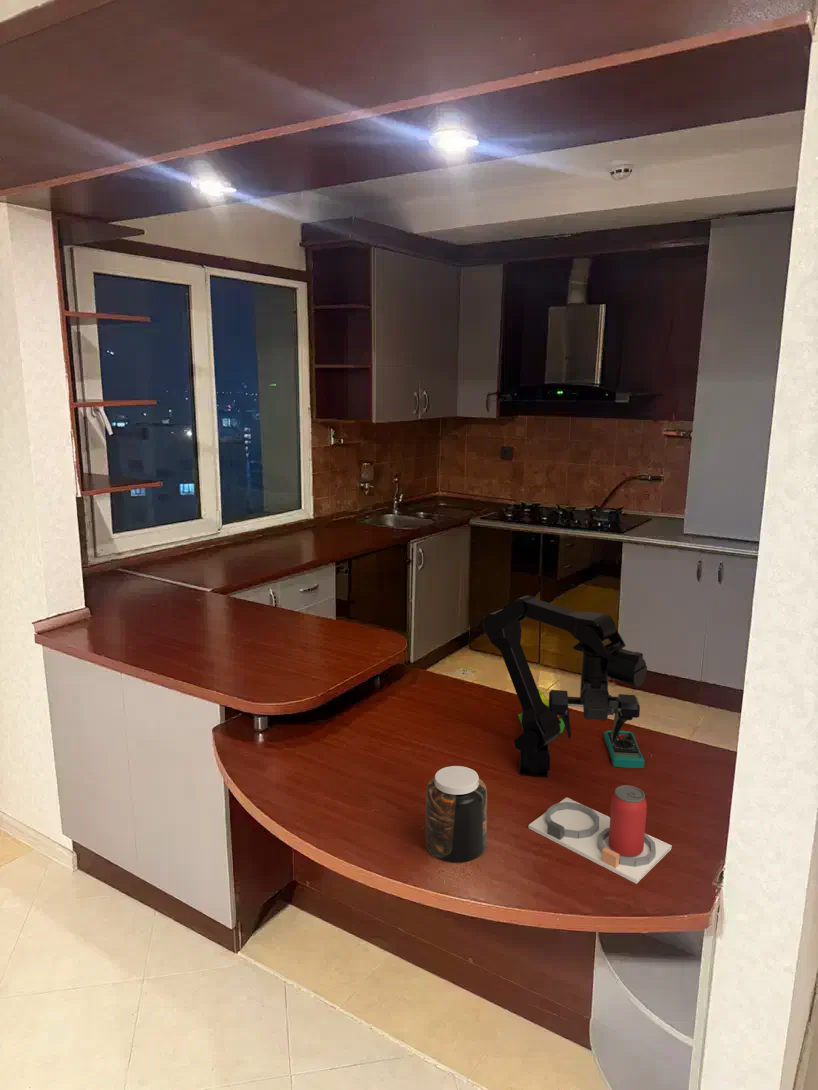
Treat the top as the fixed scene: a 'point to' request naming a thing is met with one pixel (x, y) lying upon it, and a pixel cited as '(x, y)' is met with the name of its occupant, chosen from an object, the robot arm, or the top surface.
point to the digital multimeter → (624, 750)
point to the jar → (456, 815)
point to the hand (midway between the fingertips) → (591, 739)
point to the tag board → (596, 839)
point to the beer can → (627, 821)
